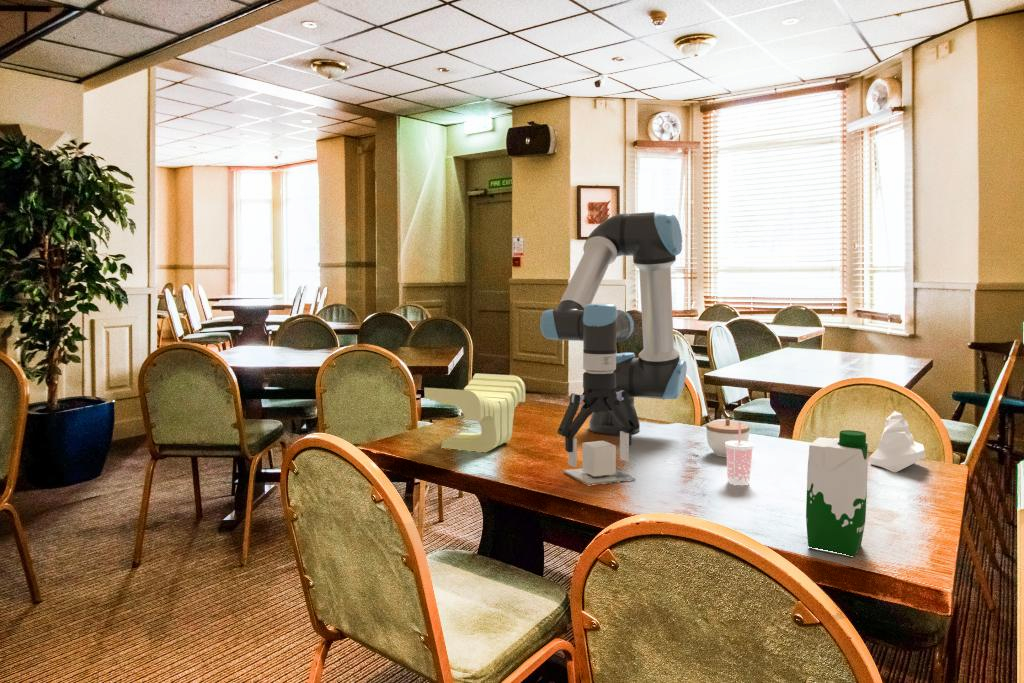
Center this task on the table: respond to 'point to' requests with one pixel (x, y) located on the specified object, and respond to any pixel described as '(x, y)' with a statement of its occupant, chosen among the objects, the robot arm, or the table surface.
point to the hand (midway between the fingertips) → (598, 462)
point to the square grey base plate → (598, 477)
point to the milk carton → (837, 492)
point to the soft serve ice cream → (897, 445)
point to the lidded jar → (724, 435)
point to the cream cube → (599, 458)
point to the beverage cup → (739, 460)
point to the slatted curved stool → (483, 409)
